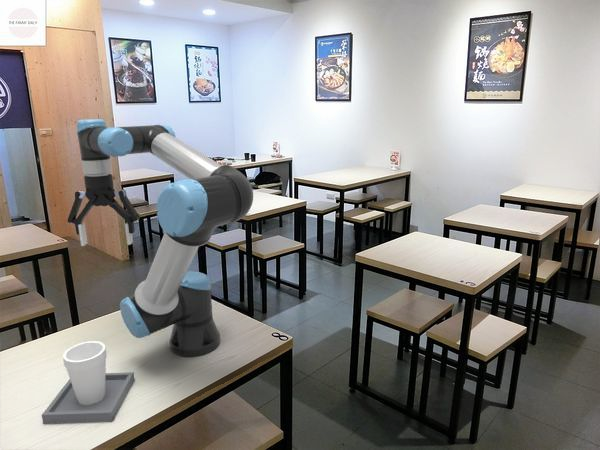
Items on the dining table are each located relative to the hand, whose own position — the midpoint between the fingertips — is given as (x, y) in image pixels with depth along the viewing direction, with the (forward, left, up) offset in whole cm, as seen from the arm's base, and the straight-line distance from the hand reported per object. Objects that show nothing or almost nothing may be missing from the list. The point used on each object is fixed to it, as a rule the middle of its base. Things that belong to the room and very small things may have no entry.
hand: (107, 244), depth 131 cm
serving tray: (-4, +31, -32) cm, 45 cm away
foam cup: (-4, +31, -31) cm, 44 cm away
